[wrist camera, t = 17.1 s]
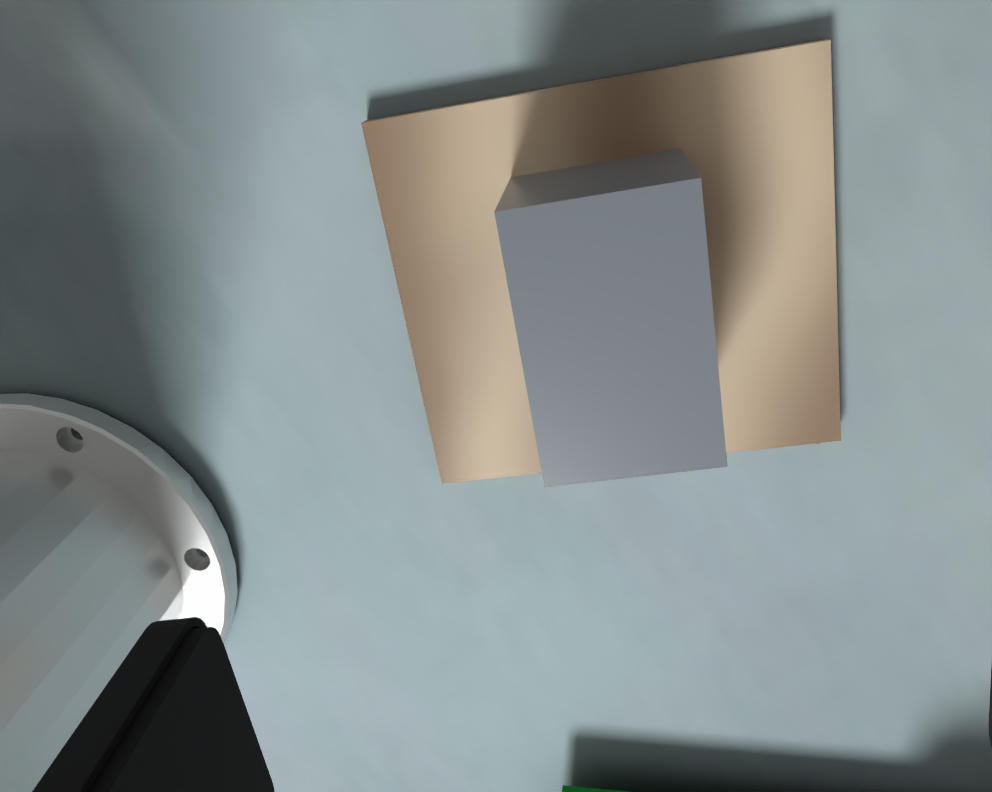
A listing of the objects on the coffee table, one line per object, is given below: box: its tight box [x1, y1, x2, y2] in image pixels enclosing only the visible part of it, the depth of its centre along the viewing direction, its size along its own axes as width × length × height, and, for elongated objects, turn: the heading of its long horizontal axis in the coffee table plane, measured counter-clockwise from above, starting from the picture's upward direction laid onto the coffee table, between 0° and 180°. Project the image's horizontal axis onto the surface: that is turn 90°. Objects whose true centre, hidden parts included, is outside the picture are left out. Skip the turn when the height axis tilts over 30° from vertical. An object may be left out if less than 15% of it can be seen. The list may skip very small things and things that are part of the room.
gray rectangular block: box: [494, 148, 727, 487], centre depth 22 cm, size 7×4×4 cm, turn 10°
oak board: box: [361, 39, 841, 484], centre depth 25 cm, size 12×11×1 cm
